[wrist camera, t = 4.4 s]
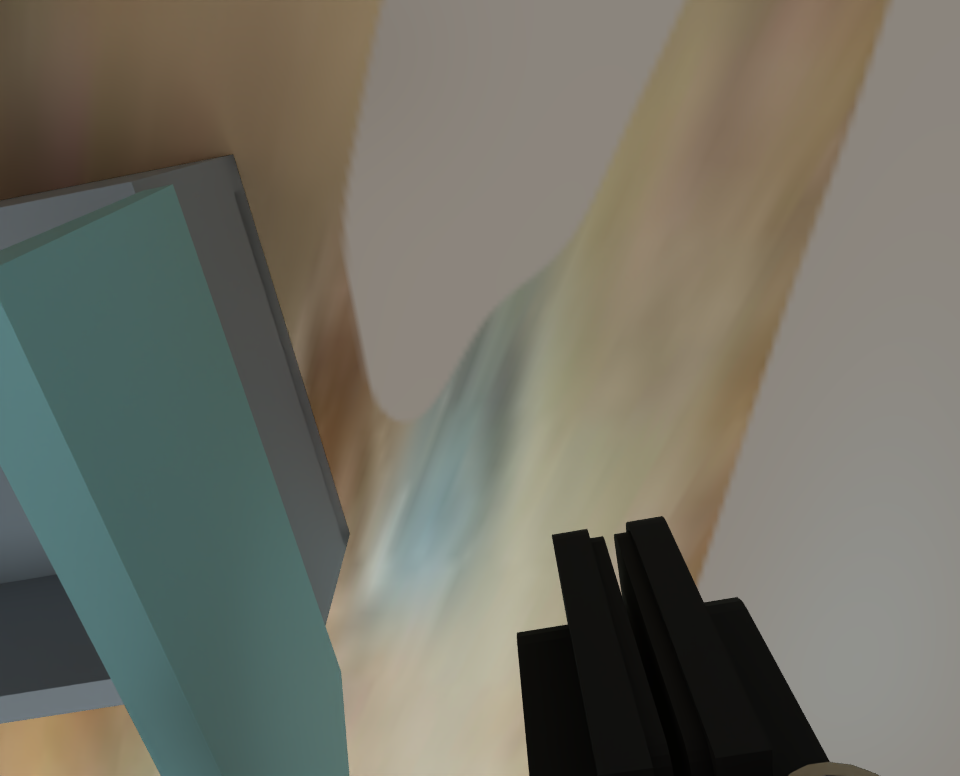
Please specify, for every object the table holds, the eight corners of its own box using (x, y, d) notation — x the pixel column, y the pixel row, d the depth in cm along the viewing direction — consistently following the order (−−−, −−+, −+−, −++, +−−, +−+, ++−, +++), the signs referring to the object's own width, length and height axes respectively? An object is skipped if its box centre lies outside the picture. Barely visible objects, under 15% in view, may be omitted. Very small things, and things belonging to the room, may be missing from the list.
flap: (-91, 288, 6) (-14, 271, 6) (143, 190, 14) (172, 184, 15) (338, 1117, 11) (375, 1101, 11) (320, 678, 20) (341, 671, 20)
